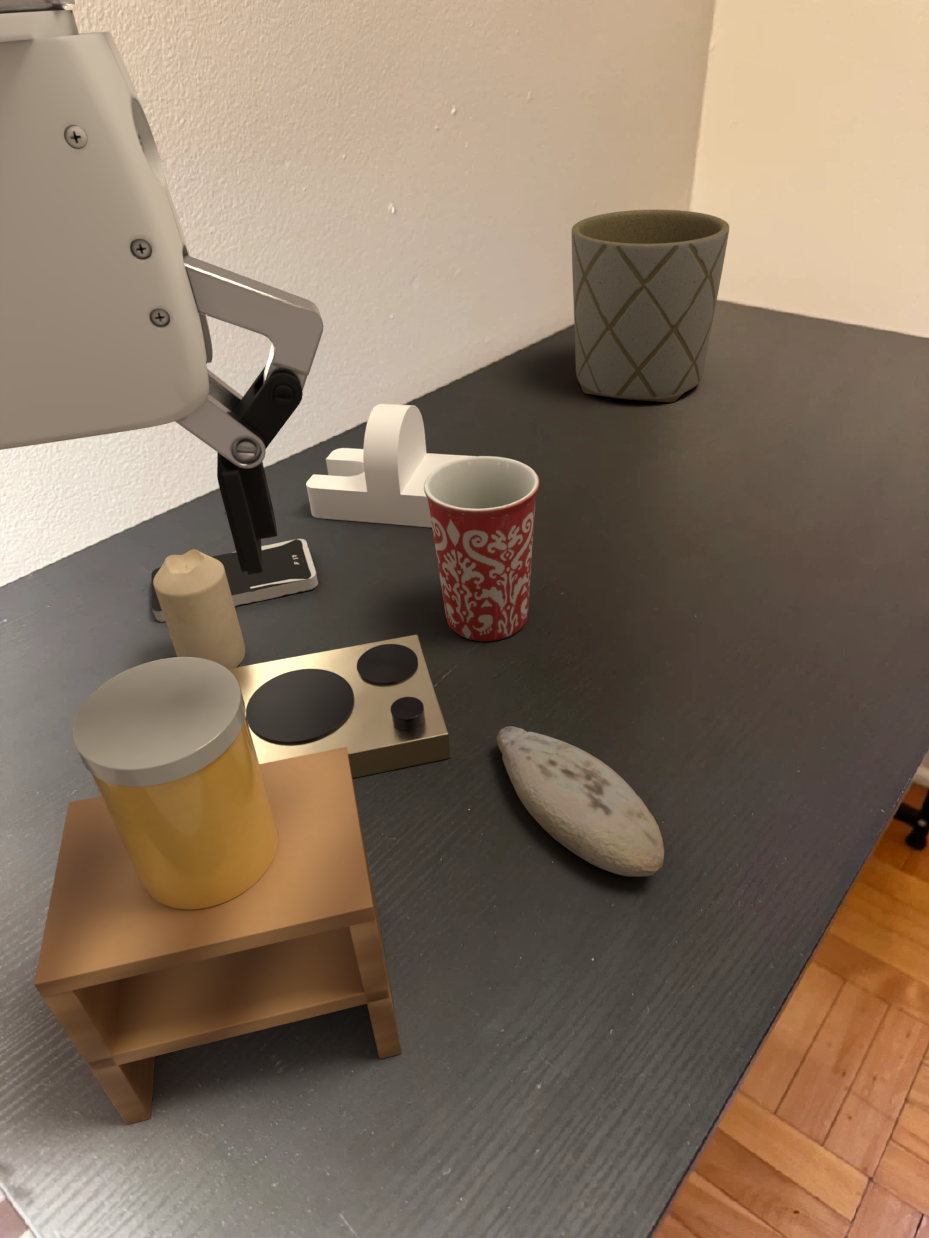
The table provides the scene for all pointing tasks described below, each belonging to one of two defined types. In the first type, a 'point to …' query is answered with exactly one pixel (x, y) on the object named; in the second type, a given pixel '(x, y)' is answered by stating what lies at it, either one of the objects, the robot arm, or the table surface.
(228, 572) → the smartphone
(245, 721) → the jar
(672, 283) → the planter
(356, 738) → the hob
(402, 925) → the table surface
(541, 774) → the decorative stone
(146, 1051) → the shelf
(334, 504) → the u-slot stand
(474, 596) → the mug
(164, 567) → the candle
